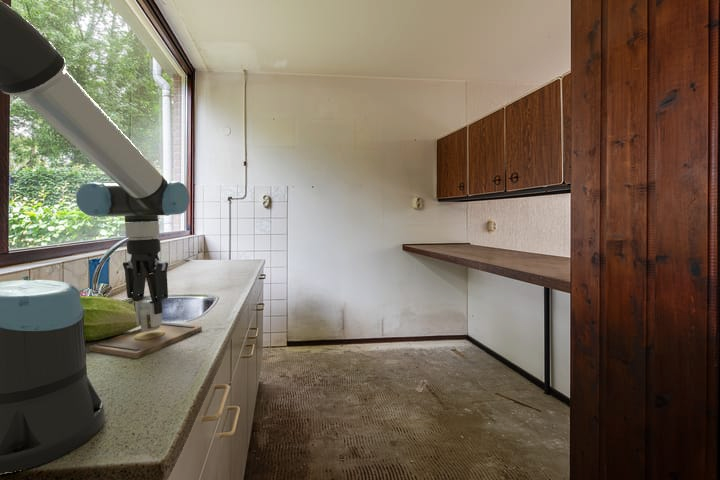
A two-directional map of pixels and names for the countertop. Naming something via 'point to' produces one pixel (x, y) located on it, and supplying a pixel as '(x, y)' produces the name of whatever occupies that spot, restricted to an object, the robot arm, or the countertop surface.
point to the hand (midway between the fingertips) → (149, 324)
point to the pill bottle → (146, 317)
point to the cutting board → (145, 340)
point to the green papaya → (106, 317)
